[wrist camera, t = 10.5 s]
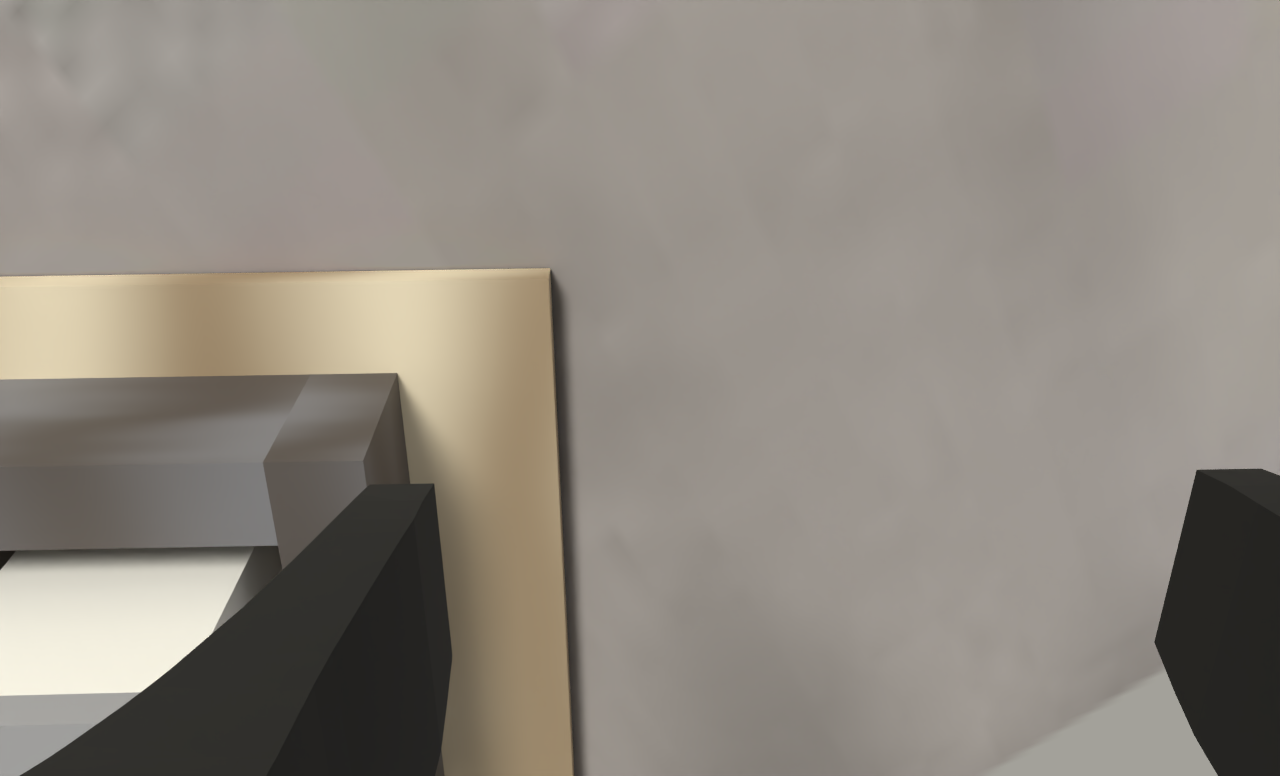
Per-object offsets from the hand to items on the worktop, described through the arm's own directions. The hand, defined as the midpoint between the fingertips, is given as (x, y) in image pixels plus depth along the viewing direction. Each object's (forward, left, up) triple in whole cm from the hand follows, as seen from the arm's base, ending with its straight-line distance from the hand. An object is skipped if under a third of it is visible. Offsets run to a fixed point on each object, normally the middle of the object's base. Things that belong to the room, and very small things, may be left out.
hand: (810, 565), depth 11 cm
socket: (+10, +7, -9) cm, 15 cm away
